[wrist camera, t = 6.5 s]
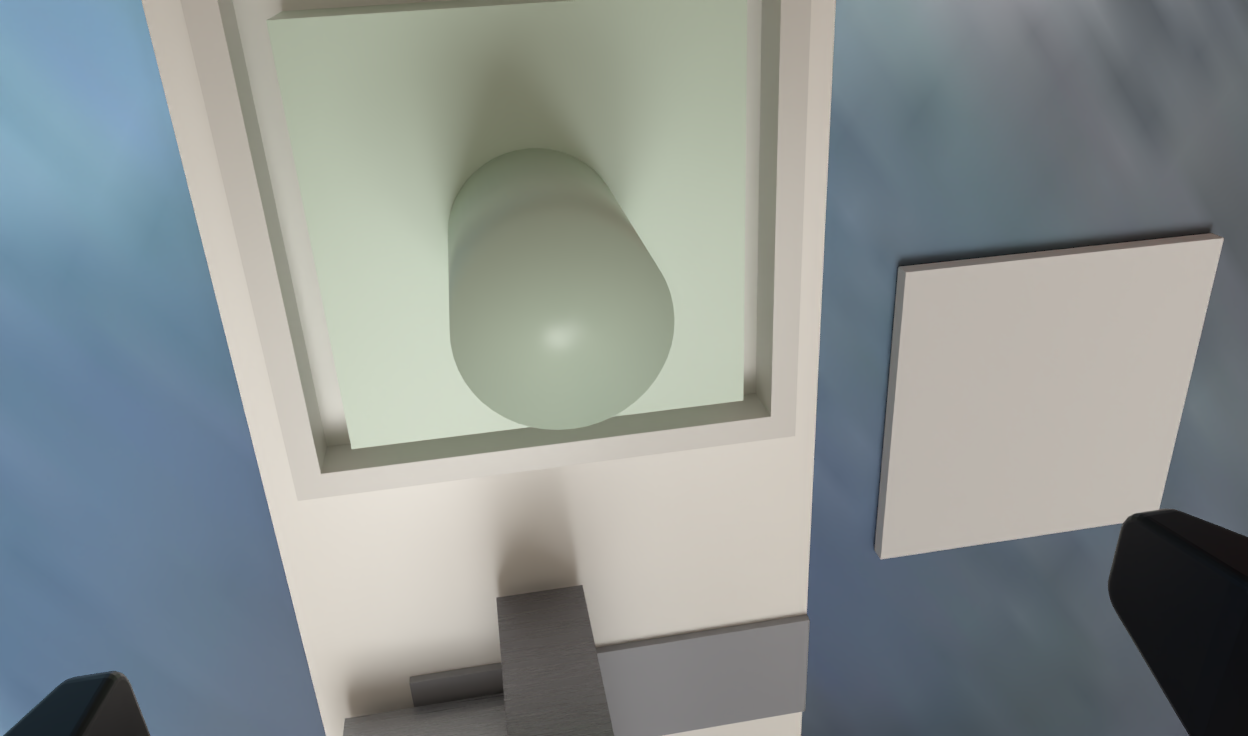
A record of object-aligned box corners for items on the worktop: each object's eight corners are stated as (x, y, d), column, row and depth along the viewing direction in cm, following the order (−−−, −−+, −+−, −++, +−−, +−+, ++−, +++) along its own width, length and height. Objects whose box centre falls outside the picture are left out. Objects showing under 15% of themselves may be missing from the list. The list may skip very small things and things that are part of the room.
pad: (1147, 509, 26) (1156, 517, 26) (874, 550, 25) (880, 559, 25) (1211, 232, 23) (1223, 237, 22) (898, 266, 22) (906, 272, 21)
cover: (722, 365, 19) (821, 525, 14) (358, 409, 18) (326, 596, 13) (721, -17, 16) (848, 11, 11) (282, 11, 15) (201, 57, 10)
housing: (763, 695, 27) (812, 814, 23) (366, 761, 25) (354, 899, 22) (782, -148, 18) (868, -165, 14) (163, -121, 16) (85, -133, 13)
